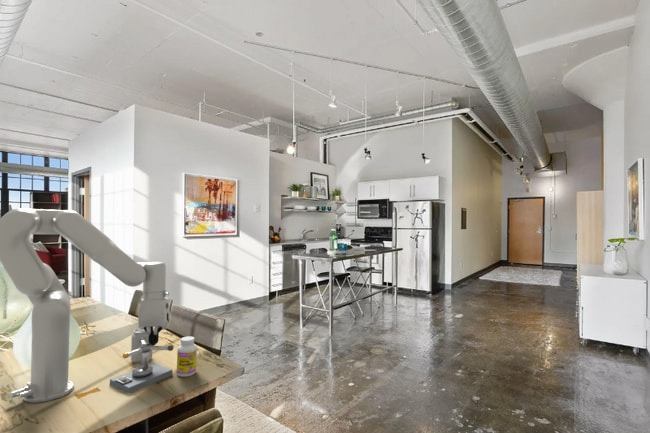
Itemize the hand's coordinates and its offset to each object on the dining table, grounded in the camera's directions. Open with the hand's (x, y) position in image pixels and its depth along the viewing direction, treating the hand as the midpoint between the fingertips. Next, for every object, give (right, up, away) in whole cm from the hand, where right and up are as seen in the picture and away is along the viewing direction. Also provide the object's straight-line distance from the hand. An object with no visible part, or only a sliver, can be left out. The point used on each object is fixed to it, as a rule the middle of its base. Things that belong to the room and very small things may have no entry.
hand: (153, 344), depth 129 cm
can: (-9, -10, +9) cm, 16 cm away
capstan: (0, -7, -8) cm, 11 cm away
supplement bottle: (+13, -10, -2) cm, 17 cm away
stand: (0, -10, -8) cm, 12 cm away
